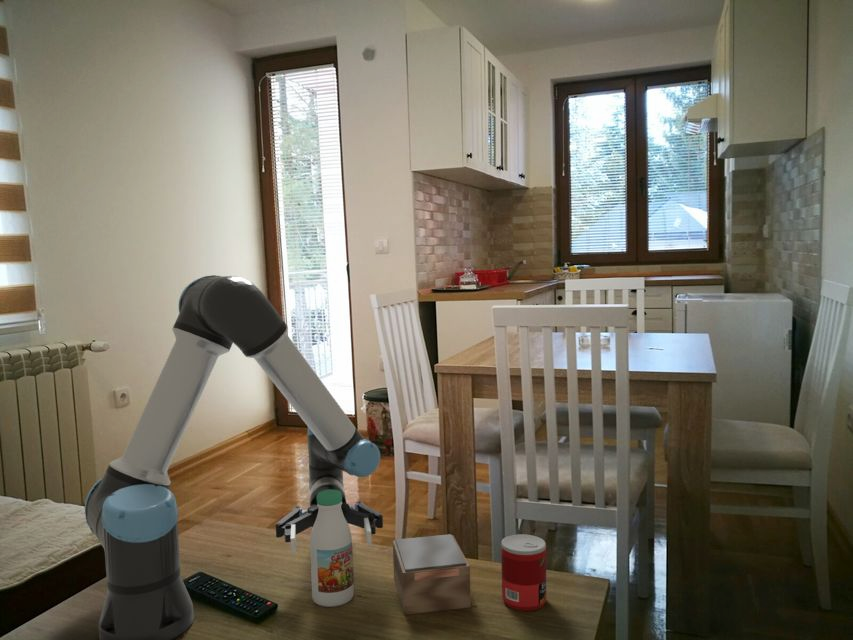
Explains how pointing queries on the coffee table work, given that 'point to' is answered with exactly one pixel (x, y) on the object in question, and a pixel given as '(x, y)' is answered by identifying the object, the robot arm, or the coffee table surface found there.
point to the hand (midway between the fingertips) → (331, 542)
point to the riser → (431, 574)
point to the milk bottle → (331, 552)
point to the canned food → (523, 572)
